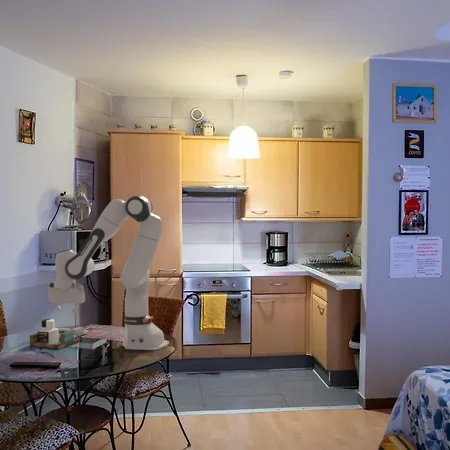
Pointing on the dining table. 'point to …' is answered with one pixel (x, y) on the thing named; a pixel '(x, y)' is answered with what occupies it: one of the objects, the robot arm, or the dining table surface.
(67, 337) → the sled
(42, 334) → the medicine bottle
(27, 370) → the dining table surface
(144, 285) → the robot arm
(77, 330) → the broken sled
